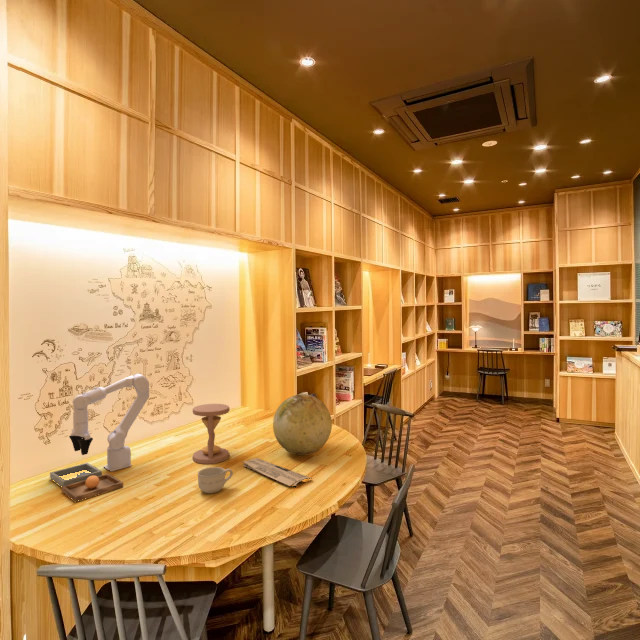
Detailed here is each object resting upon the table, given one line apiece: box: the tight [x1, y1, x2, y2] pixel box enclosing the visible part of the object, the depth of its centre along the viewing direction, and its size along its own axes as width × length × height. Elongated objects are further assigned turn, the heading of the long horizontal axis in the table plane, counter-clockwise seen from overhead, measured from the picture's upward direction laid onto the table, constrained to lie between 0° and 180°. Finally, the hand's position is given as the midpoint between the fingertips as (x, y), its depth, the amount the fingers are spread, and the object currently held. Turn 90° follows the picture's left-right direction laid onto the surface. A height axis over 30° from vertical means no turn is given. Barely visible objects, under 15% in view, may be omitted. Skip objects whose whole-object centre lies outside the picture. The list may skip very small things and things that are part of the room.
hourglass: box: [192, 403, 230, 465], centre depth 205 cm, size 18×18×25 cm
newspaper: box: [241, 457, 313, 487], centre depth 186 cm, size 35×12×4 cm, turn 49°
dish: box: [49, 462, 103, 487], centre depth 179 cm, size 15×15×3 cm
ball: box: [85, 476, 99, 489], centre depth 169 cm, size 5×5×5 cm
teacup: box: [197, 466, 234, 494], centre depth 169 cm, size 14×11×8 cm
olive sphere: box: [272, 393, 333, 456], centre depth 212 cm, size 30×30×30 cm
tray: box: [61, 473, 124, 502], centre depth 169 cm, size 18×14×2 cm
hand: (81, 452), depth 185 cm, fingers open, 7 cm apart
